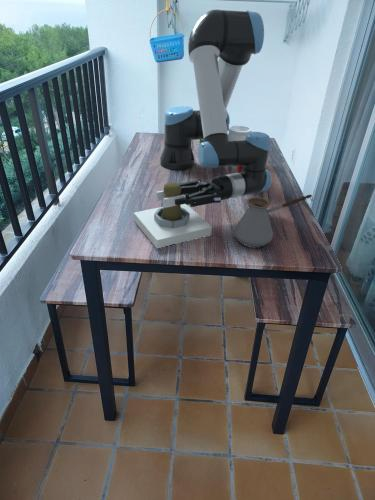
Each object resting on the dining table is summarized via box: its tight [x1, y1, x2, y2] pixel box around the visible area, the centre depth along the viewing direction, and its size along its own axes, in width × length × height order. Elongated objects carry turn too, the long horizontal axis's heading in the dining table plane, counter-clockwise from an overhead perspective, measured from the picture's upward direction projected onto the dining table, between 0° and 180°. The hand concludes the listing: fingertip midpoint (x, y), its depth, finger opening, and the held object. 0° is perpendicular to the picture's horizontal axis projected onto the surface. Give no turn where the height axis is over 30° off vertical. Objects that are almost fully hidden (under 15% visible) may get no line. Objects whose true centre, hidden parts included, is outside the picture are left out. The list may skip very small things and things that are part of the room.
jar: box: [228, 125, 253, 141], centre depth 160 cm, size 11×10×15 cm
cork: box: [162, 181, 182, 221], centre depth 107 cm, size 6×6×11 cm
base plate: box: [133, 204, 213, 250], centre depth 111 cm, size 18×18×5 cm
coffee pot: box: [233, 194, 314, 248], centre depth 104 cm, size 21×12×15 cm, turn 96°
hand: (160, 199), depth 105 cm, fingers closed on cork, 4 cm apart
